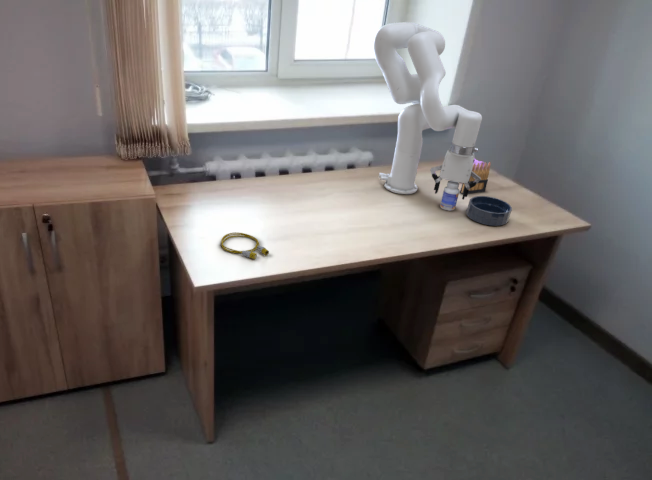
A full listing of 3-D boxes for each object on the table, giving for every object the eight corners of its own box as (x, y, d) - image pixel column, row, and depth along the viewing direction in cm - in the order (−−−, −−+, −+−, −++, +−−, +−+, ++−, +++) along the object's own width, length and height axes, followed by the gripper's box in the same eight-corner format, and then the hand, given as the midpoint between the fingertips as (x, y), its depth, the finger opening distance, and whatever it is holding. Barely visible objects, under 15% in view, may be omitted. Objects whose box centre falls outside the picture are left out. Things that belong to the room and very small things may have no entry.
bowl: (463, 220, 183) (467, 207, 180) (468, 205, 194) (471, 192, 191) (506, 230, 179) (510, 217, 176) (508, 214, 190) (512, 201, 187)
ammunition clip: (462, 194, 202) (470, 164, 196) (459, 192, 204) (467, 162, 197) (485, 191, 206) (493, 162, 199) (481, 189, 207) (490, 160, 201)
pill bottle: (455, 211, 189) (462, 186, 183) (440, 209, 189) (446, 184, 184) (454, 205, 193) (460, 180, 188) (439, 203, 194) (445, 178, 188)
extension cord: (230, 263, 150) (230, 257, 149) (216, 237, 163) (216, 232, 162) (270, 258, 154) (270, 252, 153) (253, 233, 167) (253, 227, 165)
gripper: (489, 150, 180) (475, 196, 189) (438, 141, 185) (427, 186, 194) (487, 157, 174) (473, 204, 183) (434, 147, 179) (423, 193, 188)
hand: (449, 195), depth 189 cm, fingers open, 9 cm apart
